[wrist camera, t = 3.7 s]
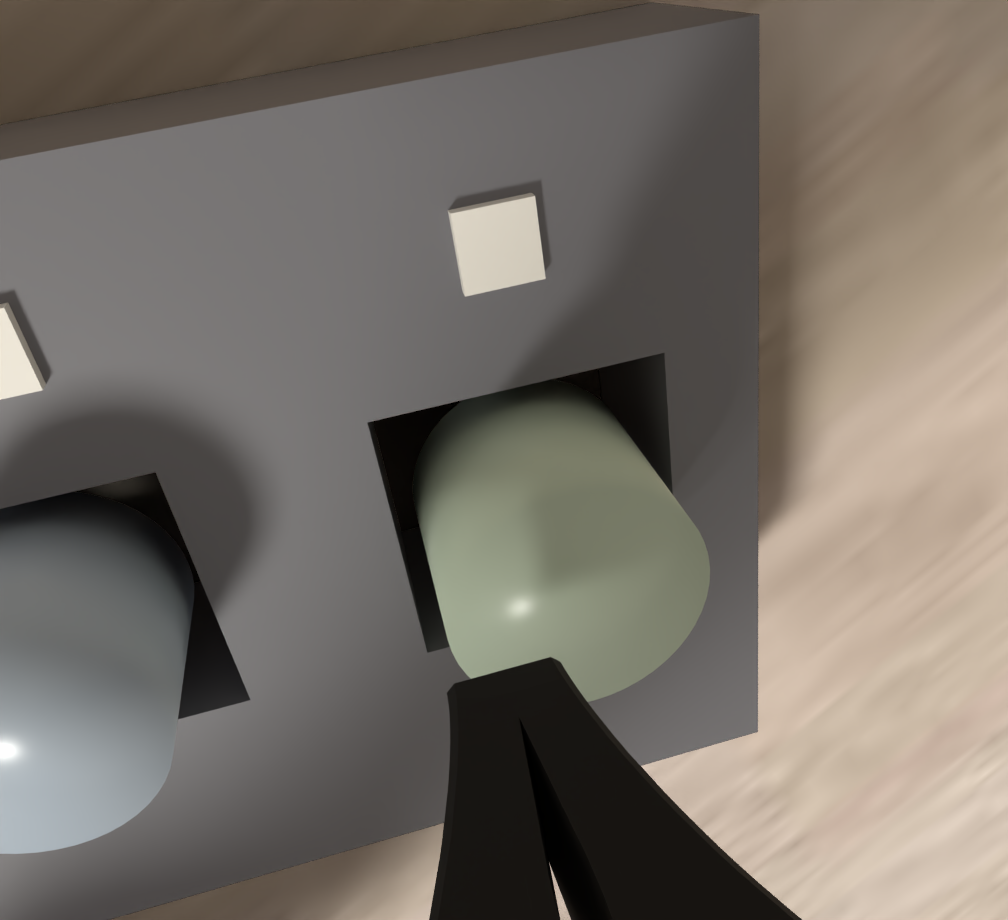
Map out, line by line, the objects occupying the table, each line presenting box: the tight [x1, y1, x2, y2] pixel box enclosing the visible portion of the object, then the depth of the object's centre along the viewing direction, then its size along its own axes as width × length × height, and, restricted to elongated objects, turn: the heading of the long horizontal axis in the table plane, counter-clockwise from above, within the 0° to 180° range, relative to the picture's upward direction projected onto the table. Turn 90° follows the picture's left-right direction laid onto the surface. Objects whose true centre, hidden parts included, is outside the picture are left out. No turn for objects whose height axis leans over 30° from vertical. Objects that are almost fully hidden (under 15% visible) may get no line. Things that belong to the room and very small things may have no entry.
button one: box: [413, 379, 710, 702], centre depth 14 cm, size 4×4×4 cm
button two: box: [0, 492, 194, 854], centre depth 13 cm, size 4×4×4 cm
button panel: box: [0, 3, 759, 920], centre depth 16 cm, size 14×24×4 cm, turn 99°
